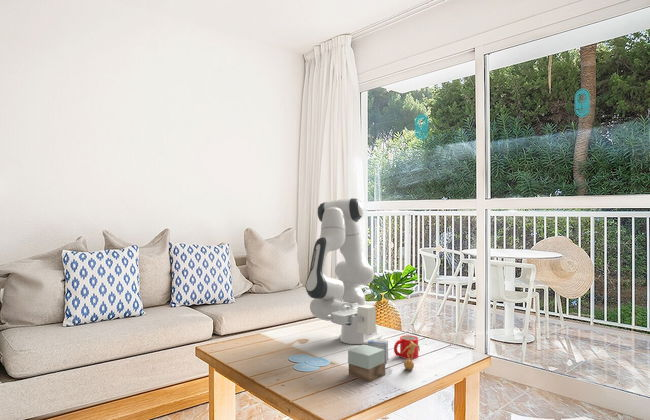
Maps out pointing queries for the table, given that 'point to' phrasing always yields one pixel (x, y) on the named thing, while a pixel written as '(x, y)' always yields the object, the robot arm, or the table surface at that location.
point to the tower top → (366, 356)
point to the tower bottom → (367, 372)
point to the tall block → (366, 319)
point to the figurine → (409, 363)
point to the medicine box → (380, 346)
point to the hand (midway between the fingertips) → (368, 318)
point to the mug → (404, 343)
